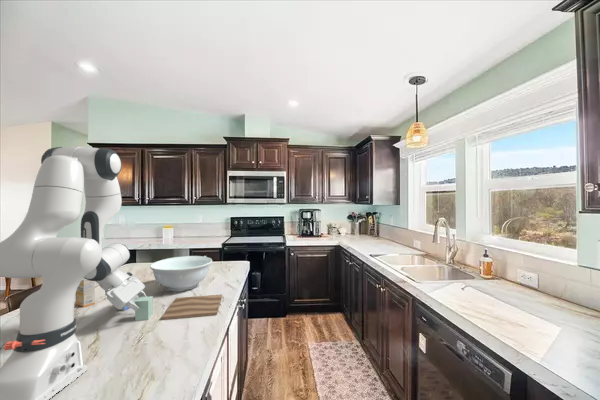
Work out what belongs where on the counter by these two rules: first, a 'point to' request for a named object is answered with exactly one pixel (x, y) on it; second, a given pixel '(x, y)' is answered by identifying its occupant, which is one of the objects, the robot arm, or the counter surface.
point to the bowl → (181, 271)
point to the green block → (144, 308)
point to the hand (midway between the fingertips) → (142, 304)
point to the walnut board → (193, 307)
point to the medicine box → (132, 302)
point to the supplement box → (85, 293)
